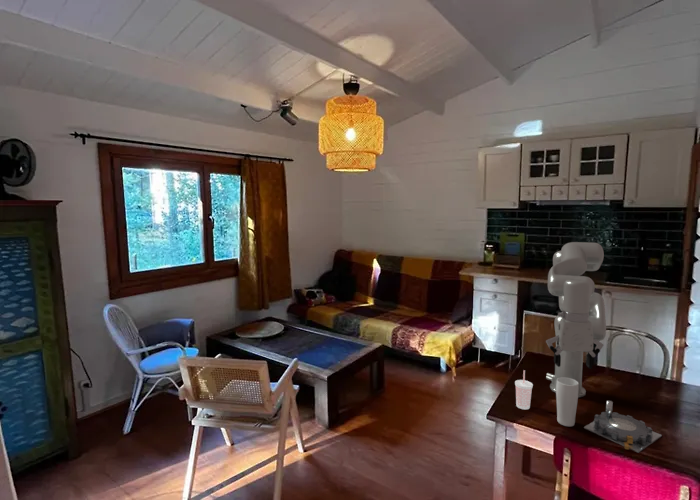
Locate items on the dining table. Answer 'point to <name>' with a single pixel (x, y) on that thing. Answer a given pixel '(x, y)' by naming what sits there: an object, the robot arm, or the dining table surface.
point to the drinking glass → (566, 400)
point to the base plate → (635, 446)
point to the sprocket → (622, 426)
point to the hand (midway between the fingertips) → (573, 366)
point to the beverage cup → (523, 393)
